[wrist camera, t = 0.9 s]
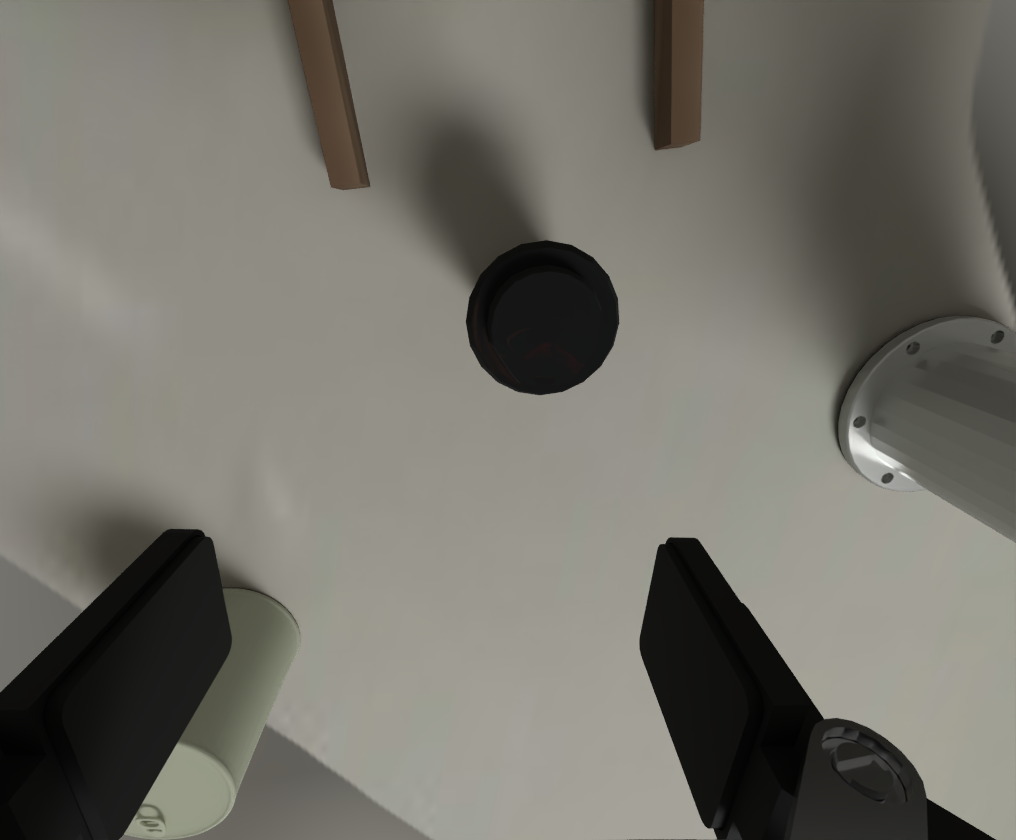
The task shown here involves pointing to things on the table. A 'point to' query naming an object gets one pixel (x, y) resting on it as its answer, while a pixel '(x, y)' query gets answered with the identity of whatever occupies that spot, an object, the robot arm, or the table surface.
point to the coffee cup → (542, 317)
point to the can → (223, 723)
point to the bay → (336, 114)
